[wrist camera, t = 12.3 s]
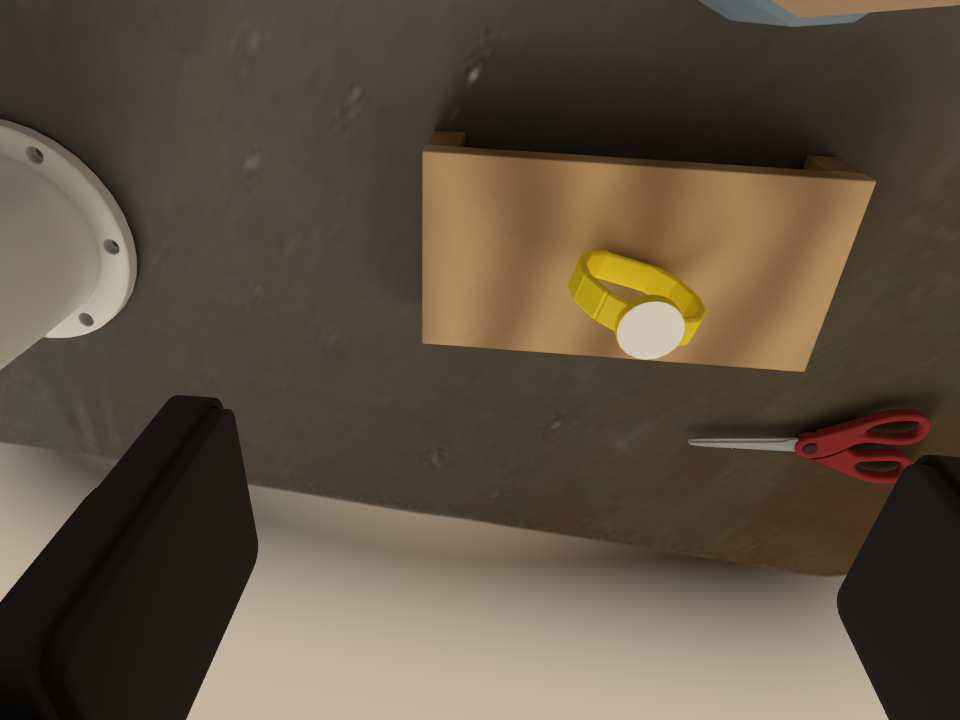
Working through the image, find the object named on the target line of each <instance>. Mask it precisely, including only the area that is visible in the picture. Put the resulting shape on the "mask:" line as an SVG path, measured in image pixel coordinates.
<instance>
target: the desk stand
mask: <svg viewBox="0 0 960 720" xmlns="http://www.w3.org/2000/svg"><path fill="white" fill-rule="evenodd" d="M875 184H876V181H875V180H873V179H872V178H870V177H869V176H867V175H866V174H864V173H862V172H861V171H859V170H858V169H856V168H854V167H853V166H851V165H850V164H848V163H847V162H845V161H844V160H842V159H841V158H839V157H824V156H807V159H806V162H805V165H804V168H803V170H800V169H785V168H770V167H755V166H740V165H725V164H710V163H695V162H680V161H664V160H649V159H634V158H619V157H604V156H589V155H574V154H559V153H544V152H529V151H514V150H498V149H483V148H468V147H465V133H461V132H446V131H433V133H432V135H431V136H430V138H429V140H428V142H427V144H426V146H425V148H424V150H423V152H422V343H428V344H441V345H454V346H468V347H481V348H494V349H508V350H521V351H534V352H548V353H561V354H574V355H588V356H601V357H615V358H628V359H637V358H634V357H632V356H630V355H628V354H626V353H625V352H624V351H623V350H622V349H621V348H620V346H619V344H618V341H617V339H616V335H615V331H613V330H612V329H610V328H608V327H606V326H604V325H603V324H601V323H599V322H597V321H596V319H593V318H592V317H591V316H590V315H589V314H587V313H586V312H585V311H584V310H583V309H582V308H581V307H580V306H579V305H578V304H576V302H575V301H574V299H573V297H572V294H571V292H570V290H569V287H568V282H569V280H570V278H571V275H572V273H573V271H574V269H575V266H576V264H577V262H578V260H579V259H580V257H581V256H582V255H583V254H584V253H585V252H587V251H596V250H605V249H606V250H608V252H611V253H614V254H617V255H620V256H624V257H627V258H630V259H633V260H637V261H640V262H643V263H646V264H650V265H653V266H656V267H659V268H661V269H663V270H665V271H666V272H668V273H670V274H671V275H673V276H675V277H677V278H678V279H680V281H683V282H684V283H685V284H686V285H687V286H688V287H690V288H691V289H692V290H693V291H694V292H695V293H696V294H698V296H699V297H700V298H701V300H702V302H703V304H704V306H705V308H706V311H707V314H706V315H705V317H704V319H703V321H702V322H701V324H700V326H699V327H698V329H697V331H696V332H695V334H694V336H693V337H692V339H691V340H690V341H689V343H688V344H687V345H684V346H677V347H676V348H675V349H674V350H673V351H671V352H670V353H668V354H667V355H665V356H662V357H659V358H657V359H649V360H655V361H668V362H681V363H695V364H708V365H721V366H735V367H748V368H761V369H775V370H788V371H801V372H804V371H805V369H806V366H807V363H808V361H809V358H810V355H811V353H812V350H813V348H814V345H815V342H816V340H817V337H818V334H819V332H820V329H821V326H822V324H823V321H824V319H825V316H826V313H827V311H828V308H829V305H830V303H831V300H832V297H833V295H834V292H835V290H836V287H837V284H838V282H839V279H840V276H841V274H842V271H843V268H844V266H845V263H846V261H847V258H848V255H849V253H850V250H851V247H852V245H853V242H854V239H855V237H856V234H857V232H858V229H859V226H860V224H861V221H862V218H863V216H864V213H865V210H866V208H867V205H868V203H869V200H870V197H871V195H872V192H873V189H874V187H875ZM595 278H596V277H595ZM596 279H597V280H598V281H599V282H601V283H602V284H603V285H604V286H605V287H607V288H608V289H609V290H610V292H613V293H615V294H617V295H619V296H621V297H623V298H624V299H626V300H628V301H631V300H633V299H635V298H638V297H640V296H644V295H647V294H646V293H644V292H642V291H639V290H636V289H632V288H629V287H626V286H622V285H619V284H616V283H612V282H609V281H606V280H602V279H599V278H596ZM641 360H644V359H641Z"/></svg>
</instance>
